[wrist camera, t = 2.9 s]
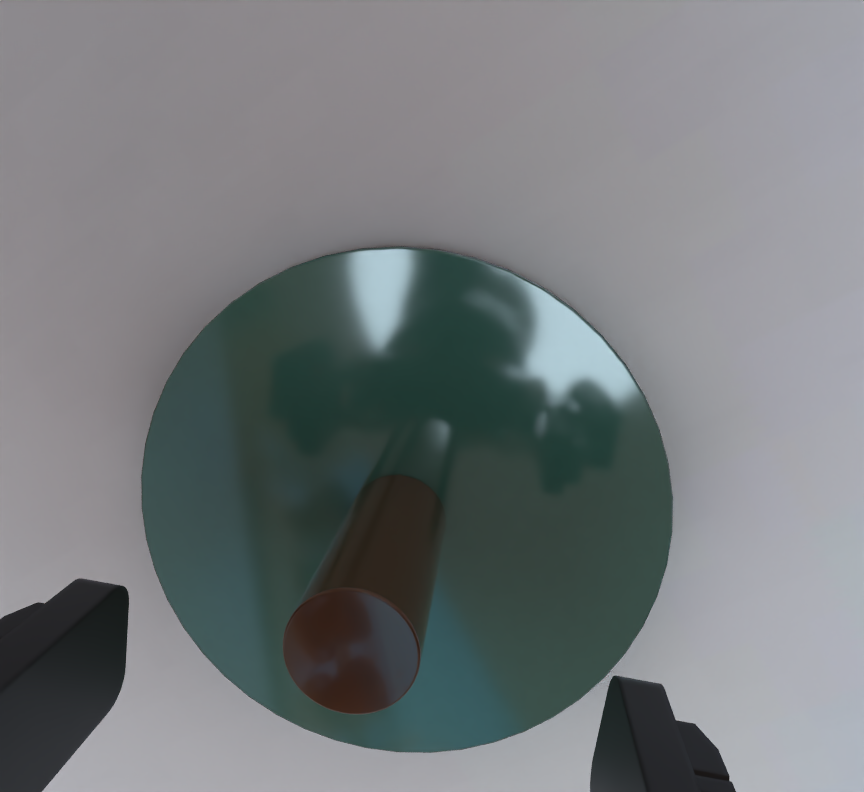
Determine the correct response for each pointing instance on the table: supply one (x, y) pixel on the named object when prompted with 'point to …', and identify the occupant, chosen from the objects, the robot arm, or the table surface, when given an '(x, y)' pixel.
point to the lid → (407, 499)
